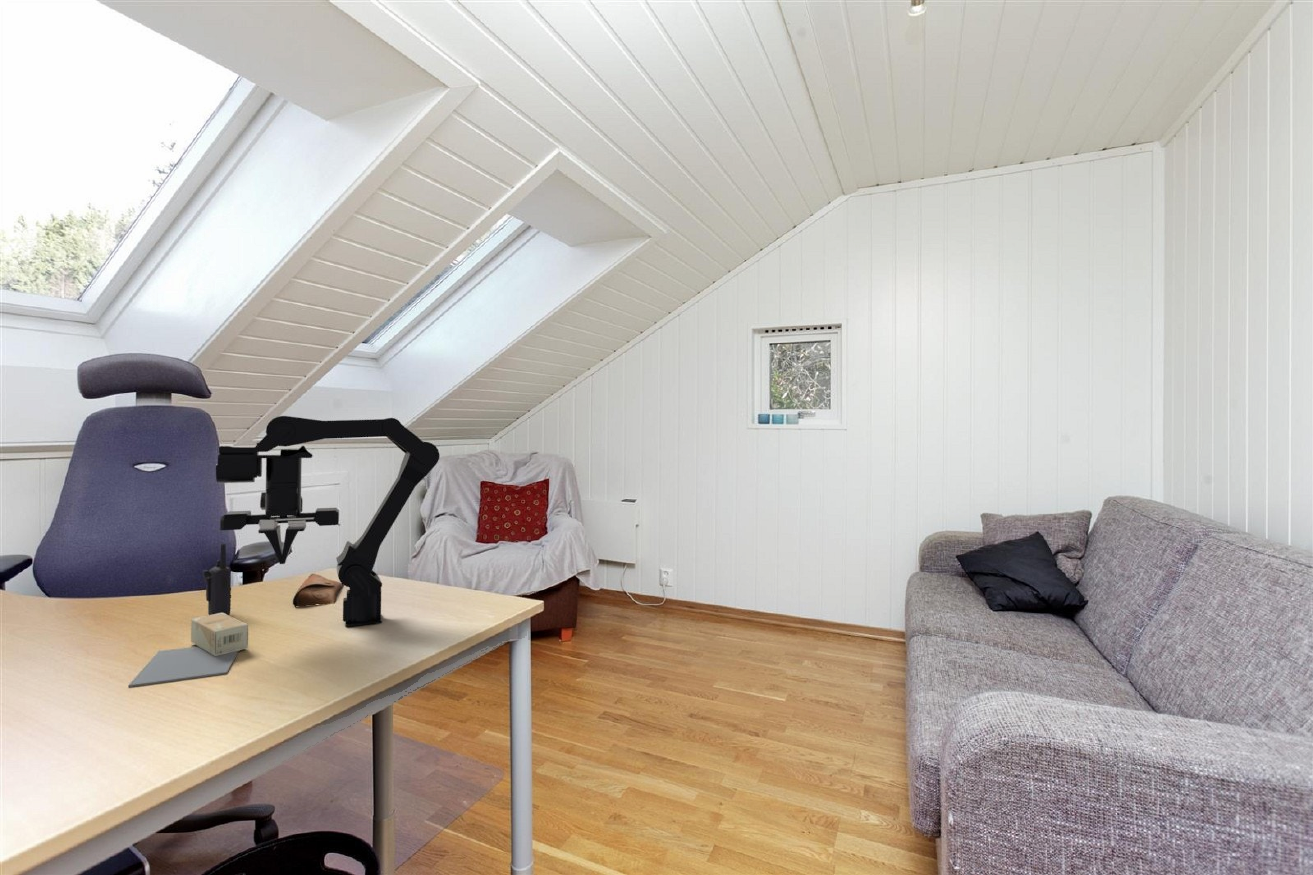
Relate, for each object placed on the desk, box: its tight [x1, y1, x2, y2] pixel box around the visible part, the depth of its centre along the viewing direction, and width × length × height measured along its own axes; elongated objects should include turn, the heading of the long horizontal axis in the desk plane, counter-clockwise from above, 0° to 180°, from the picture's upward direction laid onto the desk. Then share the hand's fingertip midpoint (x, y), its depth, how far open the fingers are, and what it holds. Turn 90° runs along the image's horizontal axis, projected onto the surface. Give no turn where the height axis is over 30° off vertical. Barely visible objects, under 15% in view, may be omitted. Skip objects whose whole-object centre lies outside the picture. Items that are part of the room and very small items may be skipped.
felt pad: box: [127, 646, 240, 688], centre depth 97 cm, size 12×15×1 cm
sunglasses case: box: [292, 573, 344, 608], centre depth 137 cm, size 18×7×7 cm, turn 23°
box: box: [190, 613, 249, 656], centre depth 104 cm, size 5×4×11 cm
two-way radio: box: [202, 543, 232, 616], centre depth 121 cm, size 6×4×15 cm
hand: (282, 563), depth 112 cm, fingers closed
